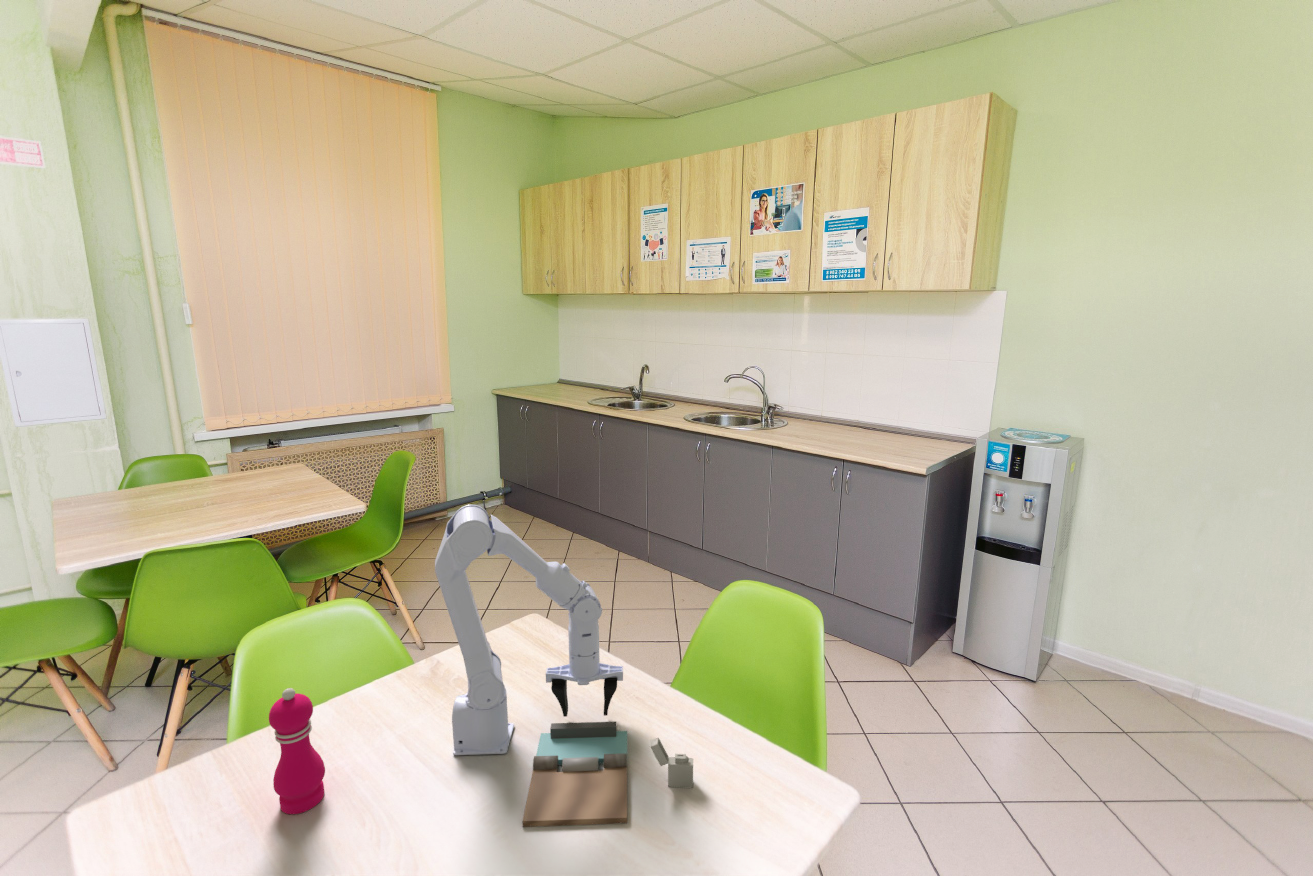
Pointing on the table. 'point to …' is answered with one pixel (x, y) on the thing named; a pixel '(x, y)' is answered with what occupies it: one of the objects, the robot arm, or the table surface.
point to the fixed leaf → (577, 794)
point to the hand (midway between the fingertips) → (585, 712)
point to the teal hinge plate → (582, 744)
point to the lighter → (674, 766)
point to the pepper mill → (296, 754)
